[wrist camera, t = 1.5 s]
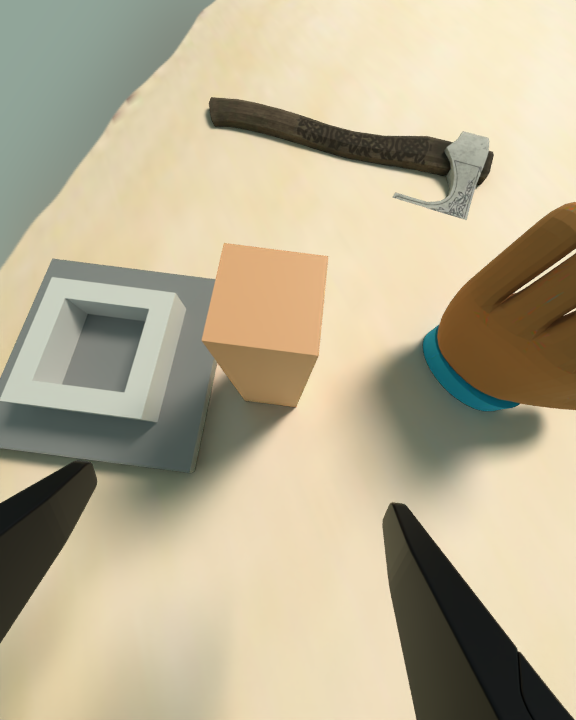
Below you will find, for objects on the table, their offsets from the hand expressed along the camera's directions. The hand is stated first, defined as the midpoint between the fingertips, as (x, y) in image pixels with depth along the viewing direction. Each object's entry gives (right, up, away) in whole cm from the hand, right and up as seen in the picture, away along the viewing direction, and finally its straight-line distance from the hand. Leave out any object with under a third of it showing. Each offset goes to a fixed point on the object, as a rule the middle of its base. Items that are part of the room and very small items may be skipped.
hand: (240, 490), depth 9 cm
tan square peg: (0, +2, +14) cm, 14 cm away
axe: (+7, +25, +22) cm, 34 cm away
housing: (-12, +4, +14) cm, 19 cm away
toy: (+17, +3, +15) cm, 23 cm away
